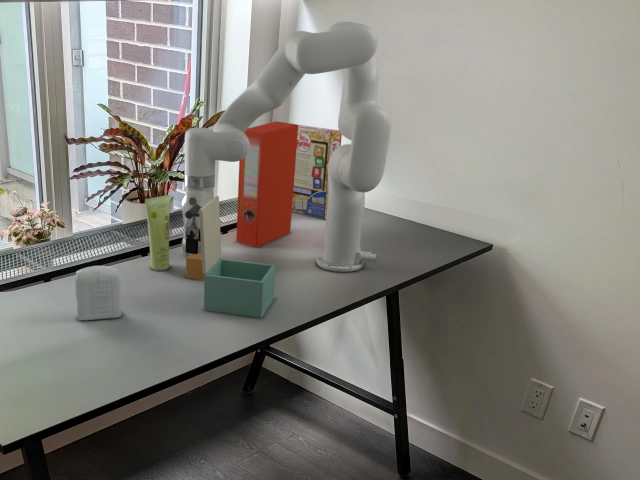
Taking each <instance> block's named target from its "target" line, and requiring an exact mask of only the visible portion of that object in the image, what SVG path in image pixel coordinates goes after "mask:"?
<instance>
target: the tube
mask: <svg viewBox="0 0 640 480" xmlns="http://www.w3.org/2000/svg"><path fill="white" fill-rule="evenodd" d="M144 204H145V211H146V217H147V218H146V220H147V230H148V241H149V255H150V256H149V257H150V269H152V270H154V271H165V270H167V269H169V268H170V213H171V212H170V211H171V210H170V209H171V194H166V195H161V196H156V197H151V198H145V199H144Z"/></svg>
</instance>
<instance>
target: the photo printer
mask: <svg viewBox="0 0 640 480" xmlns="http://www.w3.org/2000/svg"><path fill="white" fill-rule="evenodd" d="M120 278H121V277H120V273H119V272H118V268H117V267H114V266H111V265H110V266H108V265H92V266H87V267H84V268H81V269H78V270H76V271H75V277H74V287H75V289H74V290H75V301H76V303H75V304H76V313H77V315H76V316H77V320H79V321H91V320H92V321H94V320H104V319H115V318H116V319H117V318H120V317H121V316H122V301H121V298H122V297H121V279H120Z"/></svg>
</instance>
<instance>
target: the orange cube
mask: <svg viewBox="0 0 640 480" xmlns="http://www.w3.org/2000/svg"><path fill="white" fill-rule="evenodd" d="M211 268H212V267H211ZM211 268H210V269H211ZM210 269H209V270H210ZM209 270H208V271H209ZM205 274H206V273H203V270H202V253H198V254H190V255H187V256H186V258H185V278H186V279H191V280H200V281H204V275H205Z"/></svg>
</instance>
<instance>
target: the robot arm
mask: <svg viewBox="0 0 640 480" xmlns="http://www.w3.org/2000/svg"><path fill="white" fill-rule="evenodd" d="M377 48H378V36H377V34H376V32H375V30H374V29H373V28H372V27H370V26H369V25H366V24H363V23H358V22H353V21H344V20H343V21H338V22H335V23H333V24H332V25H331V26H330V27H329V28H328V29H327V31H321V32H312V31H311V32H310V31H305V30H297V31H293V32H291V33H290V34H289V35H287V36H286V38H285V39H284V41H283V42H282V43H281V44H280V46H279V47H278V49H277V50H276V51H275V53H274V54H273V55H272V57H271V58H270V60H268V63H267V64H266V65H265V66H264V67H263V68H262V70H261V72H260V73H259V74H258V76H257V77H256V79H254V81H253V82H251V84H250V85H249V86H248V87H247V88H245V89H244V90H243V91H242V92H241V93H240V94H239V95H238V96H237V97H236V98H235V99H234V100H233V101H232V102H231V103H230V104H229V105H228V106H227V108H226V109H225V111H223V113H222V115H221V116H220V117H219V119H218V120H217V121H216V123H215V124H214V126H213V127H212V128H207V127H192V128H189V129H187V130H186V132H185V133H184V176H183V177H184V178H183V179H184V181H183V182H184V183H183V187H184V188H185V190H186V189H187V191H186V193H185V195H186V206H185V213H186V212H187V211H188V210H189V209H191V208H192V207H193V206H194V205H196V204H198V205H199V206H200V207H203V206H204V205H206V204H207V203H208V202H209V201H210V200H212V199H213V198H214V197H215V192H214V189H215V184H216V183H215V182H216V161H220V162H221V161H222V162H229V163H236V162H239V161H240V160H242V159H243V158H245V157H246V155H247V154H248V152H249V149H250V143H249V140H248V138H247V136H246V135H245V134H244V133H245V131H246V130H247V129H248V128H250V126H251V125H252V124H253V123H254V122H256V120H257V119H259V118H260V117H262V116H263V115H264V114H267V113H270V112H272V111H274V110H276V109H277V108H279V107H281V106H282V105H283V104H284V103H285V101H287V98H288V97H289V96H290V94H291V93H292V92H293V90H294V89H295V88H296V87H297V86H298V84H299V82H300V81H301V80H302V79H303V78H304V76H305V75H317V74H318V75H319V74H323V73H324V74H325V73H330V72H336V71H340V70H341V74H342V88H341V97H340V103H339V104H340V105H339V111H338V120H337V128H338V130H339V131H340V133H341V134H342V137H344V138H346V139H347V140H349V141H350V142H351V143H346V144H341V146H339V147H338V148H337V149H335V150H334V151H333V153H332V154H331V156H330V159H329V162H328V186H329V187H328V205H327V215H326V219H325V228H324V236H323V237H324V239H323V250H322V254H320V255H319V256H318V257H317V258H316V264H317V266H319V267H320V268H321V269H324V270H327V271H331V272H336V273H337V272H338V273H341V272H342V273H349V272H355V271H358V270H360V269H362V268H363V266H364V261H365V262H372V263H373V262H376V258H377V254H374V253H373V254H372V252H371V251H363V250H361V246H360V245H361V238H362V237H361V236H362V229H363V219H364V213H365V211H364V210H365V202H366V193H368V192H371V191H372V190H375V188H377V187H378V185H379V184H380V183H381V181H382V179H383V176H384V173H385V169H386V164H387V157H388V151H389V145H390V140H391V139H390V138H391V133H392V132H391V131H392V128H391V127H392V126H391V120H390V117H389V114H388V112H387V111H386V110H385V109H384V108H382V107H381V106H379V105H377V102H378V101H377V99H378V91H379V81H380V80H379V79H380V78H379V77H380V71H379V63H378V60H377V57H376V52H377ZM198 213H199V212H198ZM192 225H194V226H192ZM196 226H197V227H196ZM185 230H186V231H185V234H186V235H185V238H186V253H189V254H198V241H199V242H201V234H200V217H192V218H191V219H187V218H186V217H185ZM193 230H195V234H194V232H193ZM197 236H198V239H197Z"/></svg>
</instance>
